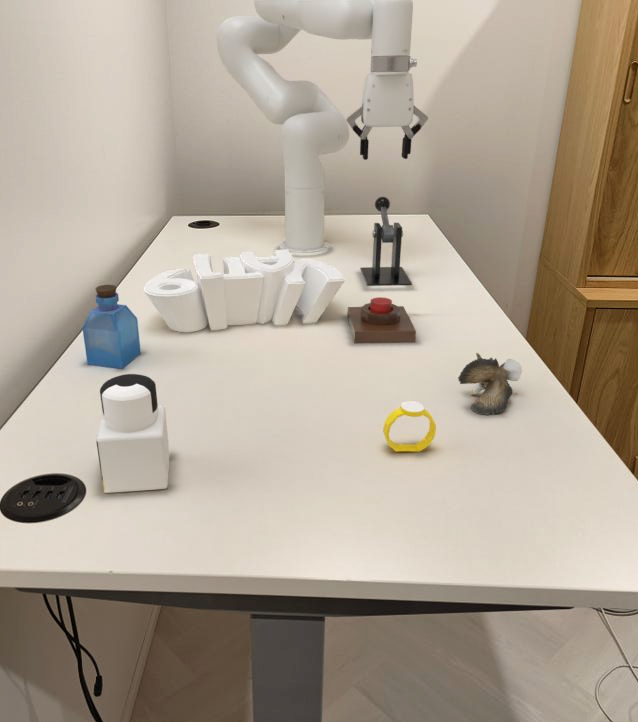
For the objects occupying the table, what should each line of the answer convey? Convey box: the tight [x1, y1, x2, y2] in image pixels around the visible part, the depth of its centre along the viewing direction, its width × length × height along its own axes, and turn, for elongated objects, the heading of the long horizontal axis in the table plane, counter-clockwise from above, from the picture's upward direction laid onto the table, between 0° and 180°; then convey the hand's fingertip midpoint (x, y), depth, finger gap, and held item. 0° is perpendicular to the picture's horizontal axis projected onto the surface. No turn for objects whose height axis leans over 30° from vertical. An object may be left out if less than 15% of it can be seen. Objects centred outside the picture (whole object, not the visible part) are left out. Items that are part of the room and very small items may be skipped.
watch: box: [382, 400, 437, 453], centre depth 81 cm, size 6×3×6 cm, turn 93°
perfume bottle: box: [82, 284, 142, 370], centre depth 106 cm, size 6×6×12 cm
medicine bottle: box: [95, 373, 170, 494], centre depth 76 cm, size 7×7×12 cm
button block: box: [347, 302, 417, 344], centre depth 117 cm, size 12×10×4 cm
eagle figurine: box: [457, 352, 523, 416], centre depth 92 cm, size 8×7×9 cm
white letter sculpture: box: [143, 249, 346, 333], centre depth 122 cm, size 35×16×10 cm, turn 94°
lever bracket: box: [360, 222, 413, 287], centre depth 140 cm, size 12×9×12 cm
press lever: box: [374, 196, 394, 244], centre depth 142 cm, size 13×3×3 cm, turn 179°
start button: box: [369, 296, 393, 313], centre depth 116 cm, size 4×4×2 cm
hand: (384, 157), depth 141 cm, fingers open, 7 cm apart
